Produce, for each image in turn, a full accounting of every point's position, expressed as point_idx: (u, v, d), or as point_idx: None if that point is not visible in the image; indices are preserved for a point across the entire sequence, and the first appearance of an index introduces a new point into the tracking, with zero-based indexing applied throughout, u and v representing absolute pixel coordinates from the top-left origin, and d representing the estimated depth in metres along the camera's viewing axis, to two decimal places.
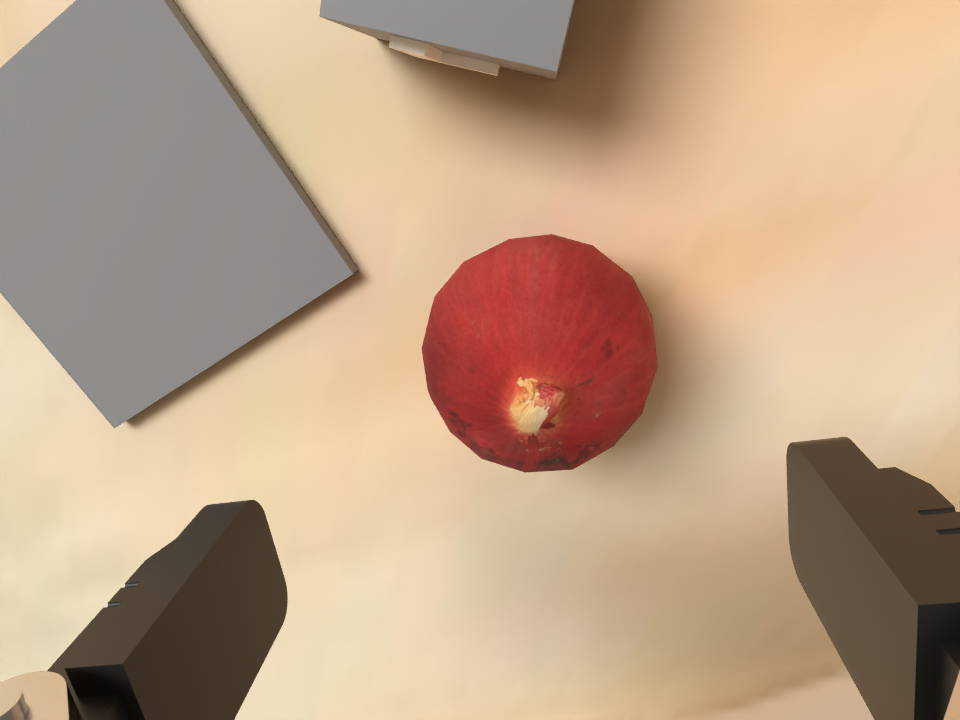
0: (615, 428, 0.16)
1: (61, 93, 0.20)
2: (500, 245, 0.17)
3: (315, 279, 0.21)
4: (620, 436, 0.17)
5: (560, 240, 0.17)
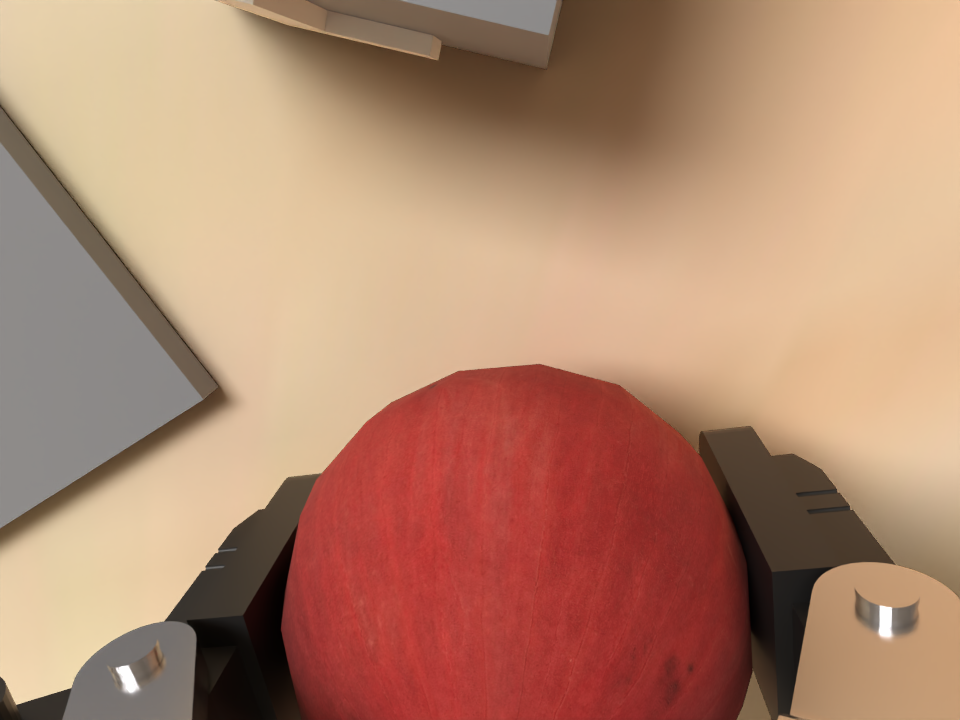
0: None
1: None
2: (435, 397, 0.08)
3: (141, 407, 0.12)
4: None
5: (557, 389, 0.08)
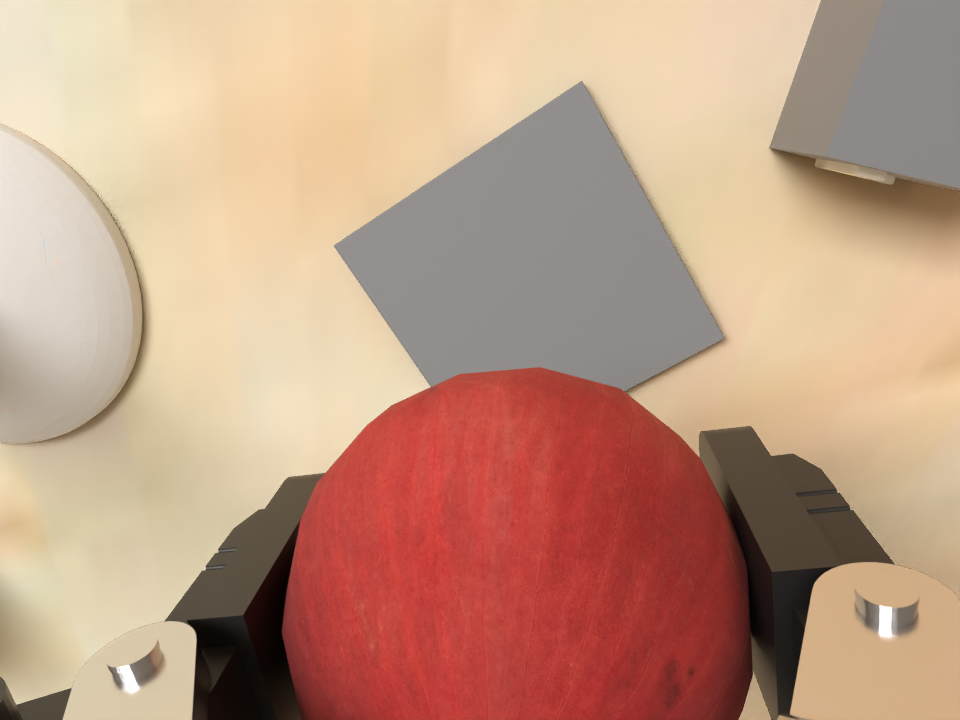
0: None
1: (497, 190, 0.24)
2: (436, 400, 0.08)
3: (690, 342, 0.25)
4: None
5: (557, 393, 0.08)
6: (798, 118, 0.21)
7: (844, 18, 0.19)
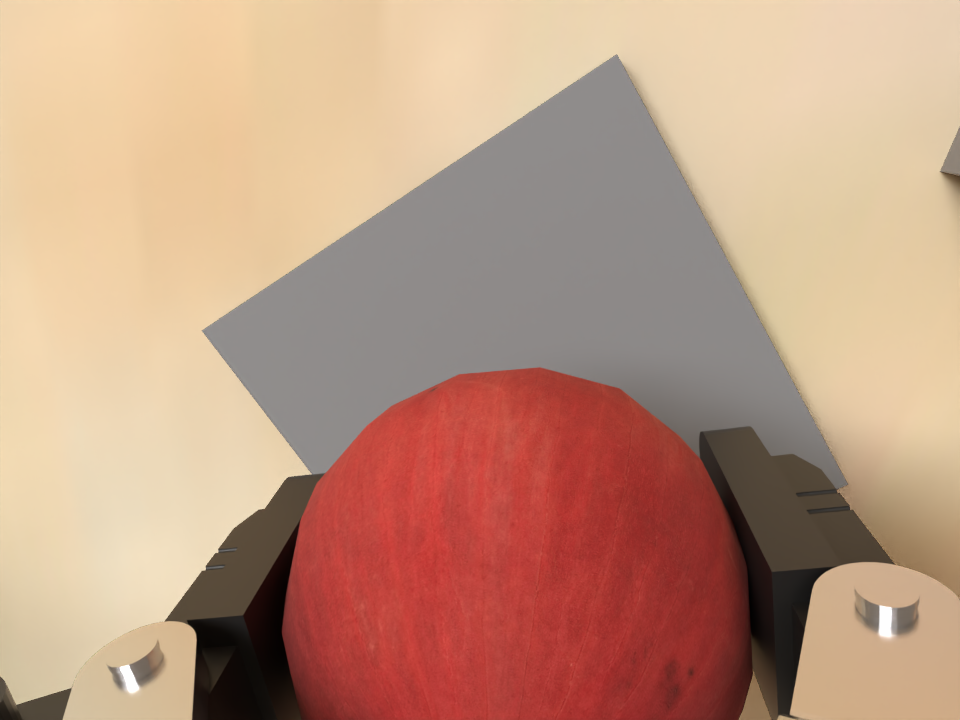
0: None
1: (469, 244, 0.14)
2: (436, 400, 0.08)
3: None
4: None
5: (557, 393, 0.08)
6: None
7: None
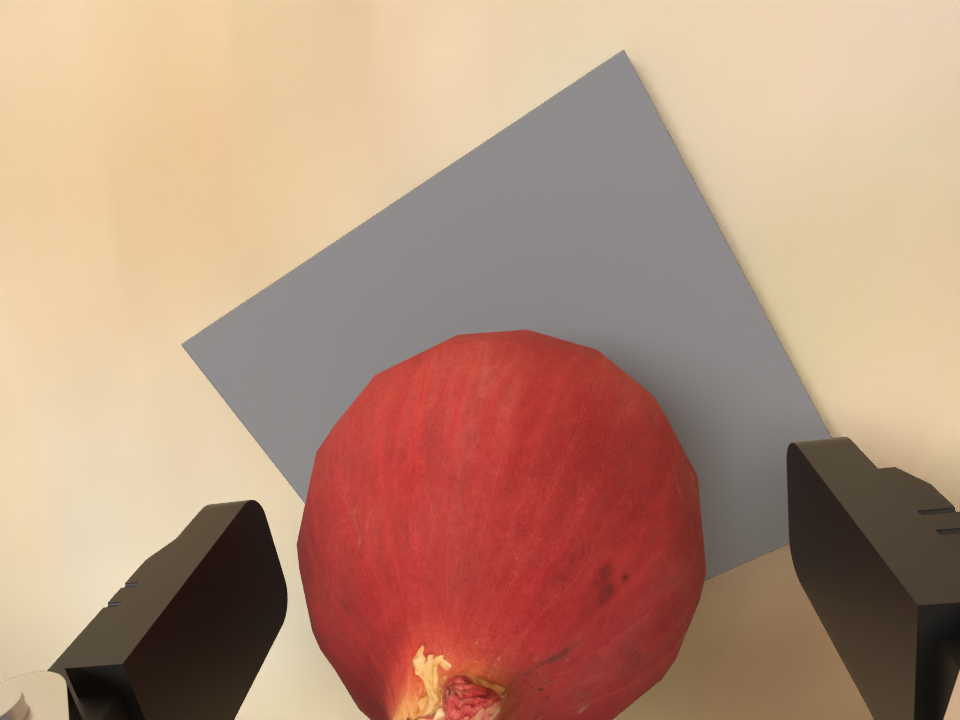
0: (622, 710, 0.08)
1: (465, 253, 0.13)
2: (431, 352, 0.10)
3: None
4: None
5: (534, 347, 0.09)
6: None
7: None
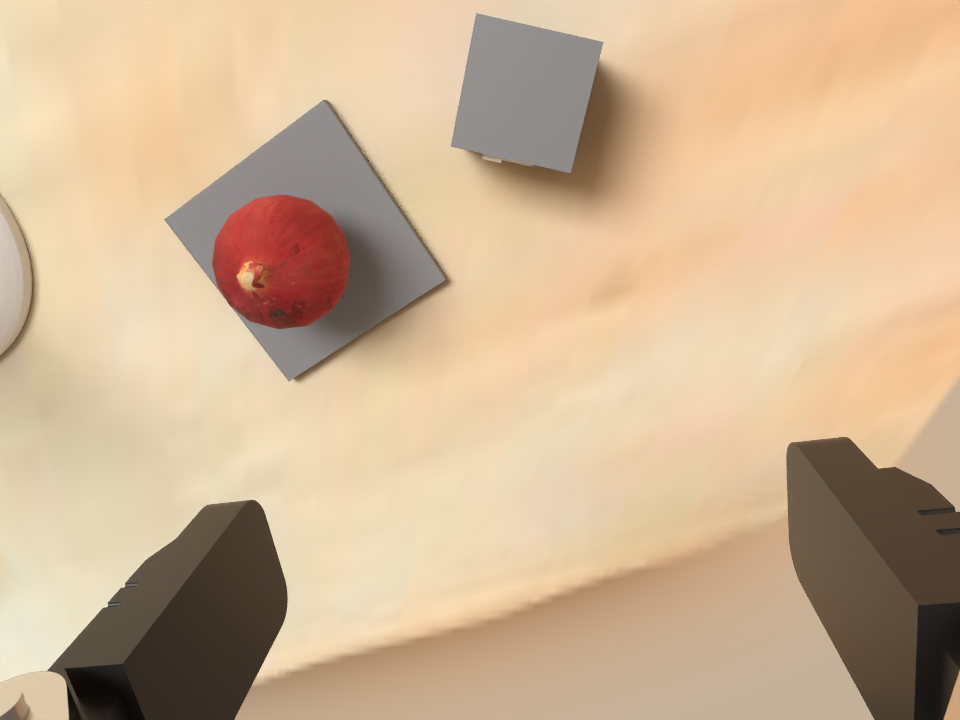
0: (310, 294, 0.29)
1: (275, 177, 0.34)
2: (253, 200, 0.30)
3: (422, 283, 0.35)
4: (323, 304, 0.30)
5: (285, 196, 0.30)
6: None
7: None
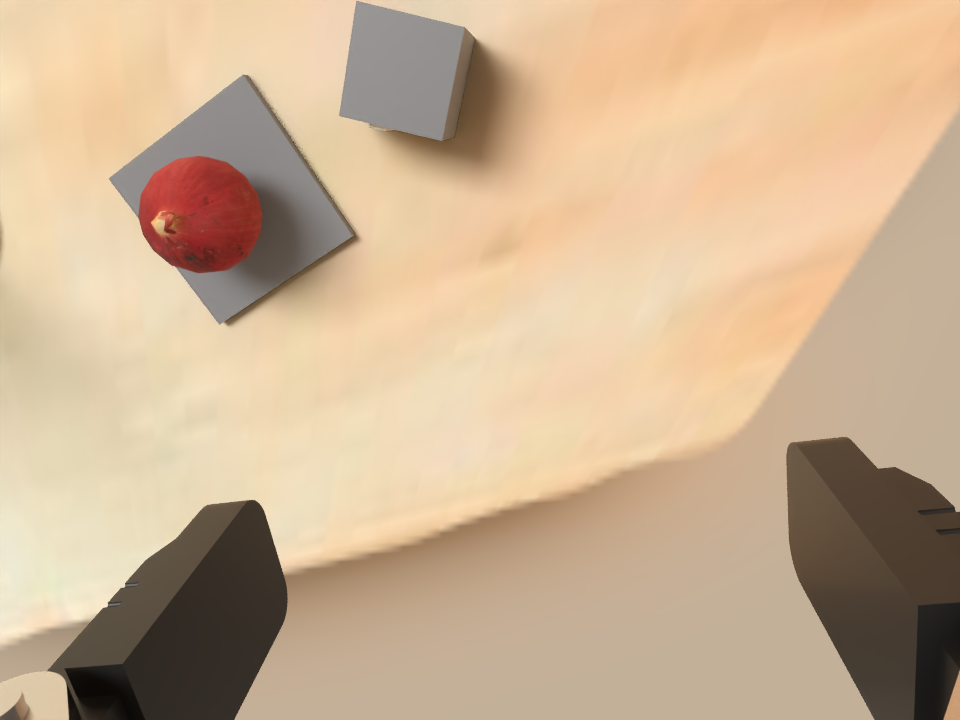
0: (220, 241, 0.34)
1: (202, 142, 0.38)
2: (174, 160, 0.35)
3: (332, 239, 0.40)
4: (233, 251, 0.35)
5: (202, 157, 0.35)
6: None
7: None
